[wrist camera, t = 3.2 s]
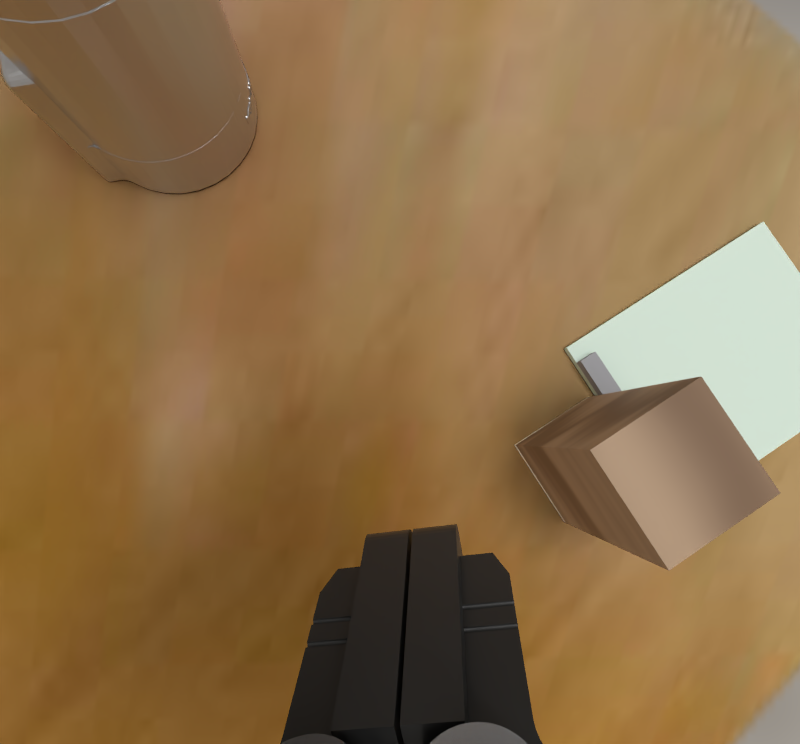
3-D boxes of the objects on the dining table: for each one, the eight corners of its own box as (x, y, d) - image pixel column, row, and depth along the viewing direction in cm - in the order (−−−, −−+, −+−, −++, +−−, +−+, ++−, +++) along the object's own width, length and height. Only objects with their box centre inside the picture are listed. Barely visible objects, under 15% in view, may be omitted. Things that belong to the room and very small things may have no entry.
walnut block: (563, 521, 33) (669, 570, 21) (514, 444, 33) (590, 450, 21) (636, 472, 33) (780, 493, 21) (587, 397, 34) (701, 376, 22)
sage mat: (673, 514, 33) (684, 517, 32) (563, 348, 34) (570, 345, 33) (867, 381, 34) (885, 379, 33) (758, 224, 35) (771, 217, 34)
